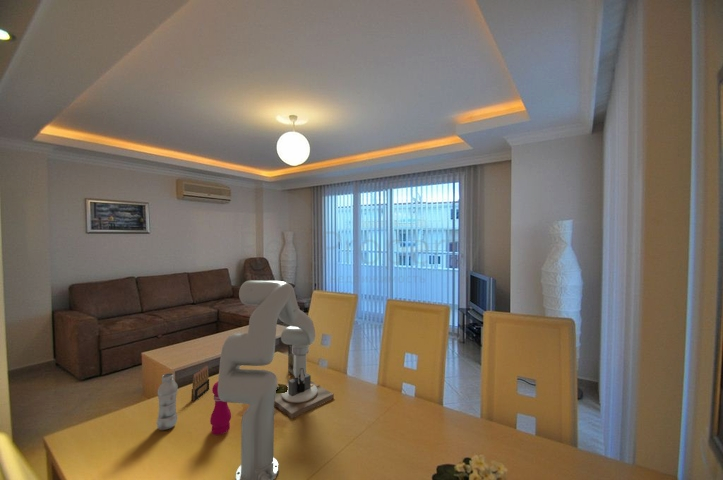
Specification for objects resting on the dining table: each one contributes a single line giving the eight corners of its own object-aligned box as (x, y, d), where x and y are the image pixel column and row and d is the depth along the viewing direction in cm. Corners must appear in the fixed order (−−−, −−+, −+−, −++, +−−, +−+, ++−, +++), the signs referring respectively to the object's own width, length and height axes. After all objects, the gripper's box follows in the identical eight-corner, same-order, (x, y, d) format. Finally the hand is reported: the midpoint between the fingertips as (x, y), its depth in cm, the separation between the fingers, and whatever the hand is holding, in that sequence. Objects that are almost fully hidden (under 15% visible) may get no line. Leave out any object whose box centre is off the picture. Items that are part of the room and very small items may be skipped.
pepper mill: (222, 437, 108) (223, 382, 108) (205, 434, 110) (206, 380, 110) (235, 425, 115) (235, 373, 116) (218, 422, 117) (219, 372, 117)
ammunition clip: (205, 389, 143) (205, 364, 143) (209, 389, 143) (209, 364, 143) (191, 400, 133) (191, 374, 133) (195, 401, 132) (195, 374, 133)
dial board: (333, 398, 136) (333, 393, 136) (291, 418, 120) (291, 412, 120) (305, 382, 151) (305, 377, 151) (265, 398, 135) (265, 393, 135)
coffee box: (287, 370, 164) (287, 341, 164) (298, 367, 168) (298, 339, 168) (294, 376, 157) (294, 346, 157) (305, 373, 161) (305, 343, 161)
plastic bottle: (152, 429, 112) (153, 377, 112) (171, 420, 118) (171, 370, 118) (162, 434, 109) (163, 380, 109) (181, 424, 115) (181, 373, 115)
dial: (294, 407, 124) (294, 390, 124) (274, 393, 135) (274, 378, 135) (324, 393, 136) (324, 377, 136) (303, 381, 147) (303, 367, 147)
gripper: (290, 344, 143) (290, 381, 143) (294, 357, 126) (293, 399, 126) (306, 342, 145) (305, 379, 145) (311, 355, 129) (311, 397, 129)
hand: (300, 388), depth 136 cm, fingers closed on dial, 4 cm apart
